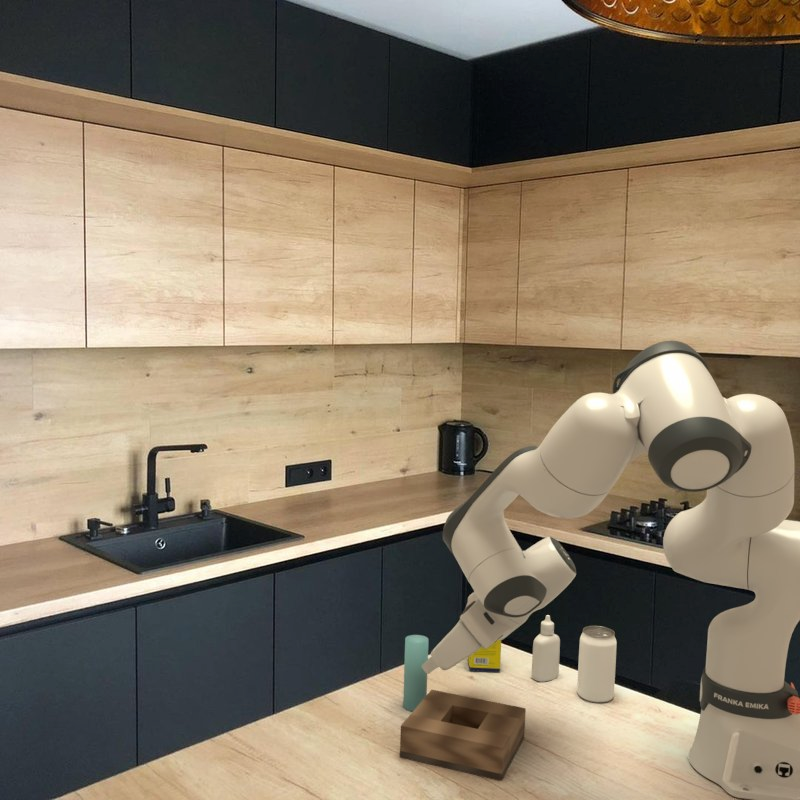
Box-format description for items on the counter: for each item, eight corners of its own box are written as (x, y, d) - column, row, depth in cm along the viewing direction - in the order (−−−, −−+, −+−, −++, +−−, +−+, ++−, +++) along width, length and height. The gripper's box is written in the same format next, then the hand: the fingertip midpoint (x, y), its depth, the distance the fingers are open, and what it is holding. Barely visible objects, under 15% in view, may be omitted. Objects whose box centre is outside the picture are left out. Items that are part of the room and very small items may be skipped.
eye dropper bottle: (527, 673, 164) (530, 611, 162) (555, 671, 164) (558, 611, 163) (534, 682, 159) (537, 620, 158) (563, 681, 160) (566, 619, 159)
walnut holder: (524, 738, 138) (525, 708, 137) (501, 780, 125) (503, 747, 125) (430, 718, 144) (431, 689, 143) (399, 756, 131) (400, 725, 130)
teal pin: (429, 703, 149) (431, 637, 148) (421, 713, 145) (423, 645, 144) (408, 699, 151) (410, 633, 149) (399, 708, 147) (401, 641, 146)
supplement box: (500, 673, 163) (503, 617, 162) (469, 671, 163) (471, 616, 162) (497, 660, 169) (500, 606, 168) (467, 659, 169) (469, 605, 168)
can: (614, 705, 151) (618, 639, 150) (576, 701, 152) (580, 635, 151) (612, 690, 157) (616, 626, 156) (576, 686, 158) (580, 623, 157)
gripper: (496, 579, 151) (441, 624, 155) (463, 614, 132) (401, 665, 136) (520, 607, 150) (464, 652, 154) (489, 647, 131) (427, 697, 135)
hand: (434, 658), depth 145 cm, fingers open, 8 cm apart
